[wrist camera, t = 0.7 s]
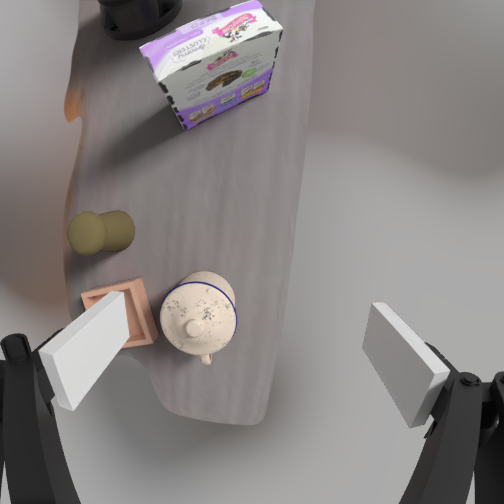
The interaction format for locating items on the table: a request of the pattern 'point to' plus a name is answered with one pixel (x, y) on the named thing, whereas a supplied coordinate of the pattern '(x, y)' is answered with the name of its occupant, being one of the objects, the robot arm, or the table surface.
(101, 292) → the tray
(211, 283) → the teacup with lid
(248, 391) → the table surface
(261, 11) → the candy box
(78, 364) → the robot arm
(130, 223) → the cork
